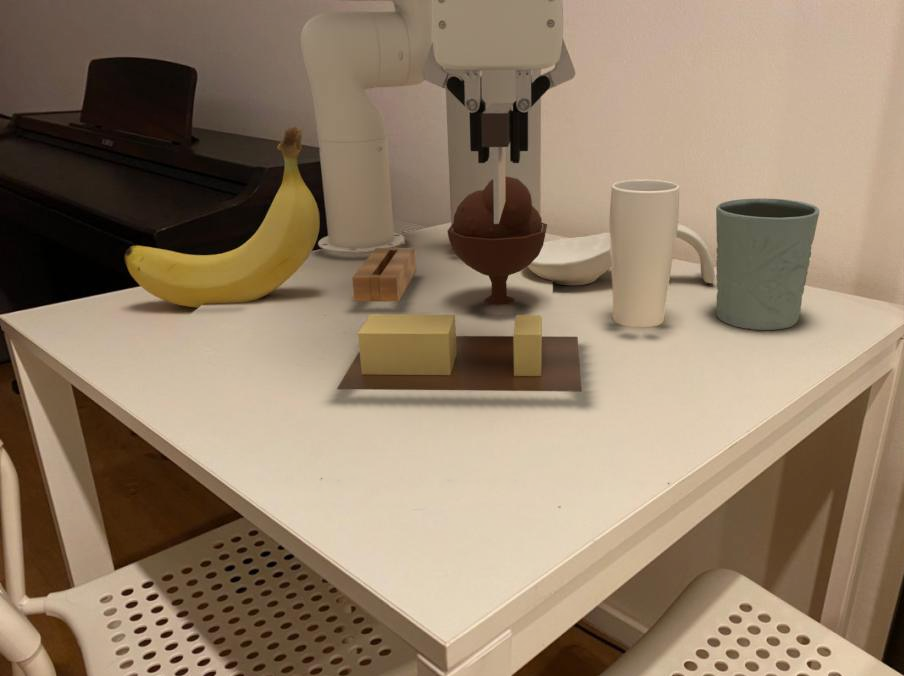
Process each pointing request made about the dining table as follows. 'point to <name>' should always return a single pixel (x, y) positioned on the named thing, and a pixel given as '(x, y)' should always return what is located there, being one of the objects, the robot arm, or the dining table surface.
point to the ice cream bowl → (498, 235)
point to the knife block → (384, 274)
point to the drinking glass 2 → (642, 249)
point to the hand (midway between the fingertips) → (499, 158)
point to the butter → (407, 344)
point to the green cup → (763, 261)
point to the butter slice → (527, 345)
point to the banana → (239, 250)
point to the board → (485, 369)
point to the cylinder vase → (464, 162)
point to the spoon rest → (598, 258)
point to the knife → (497, 148)
